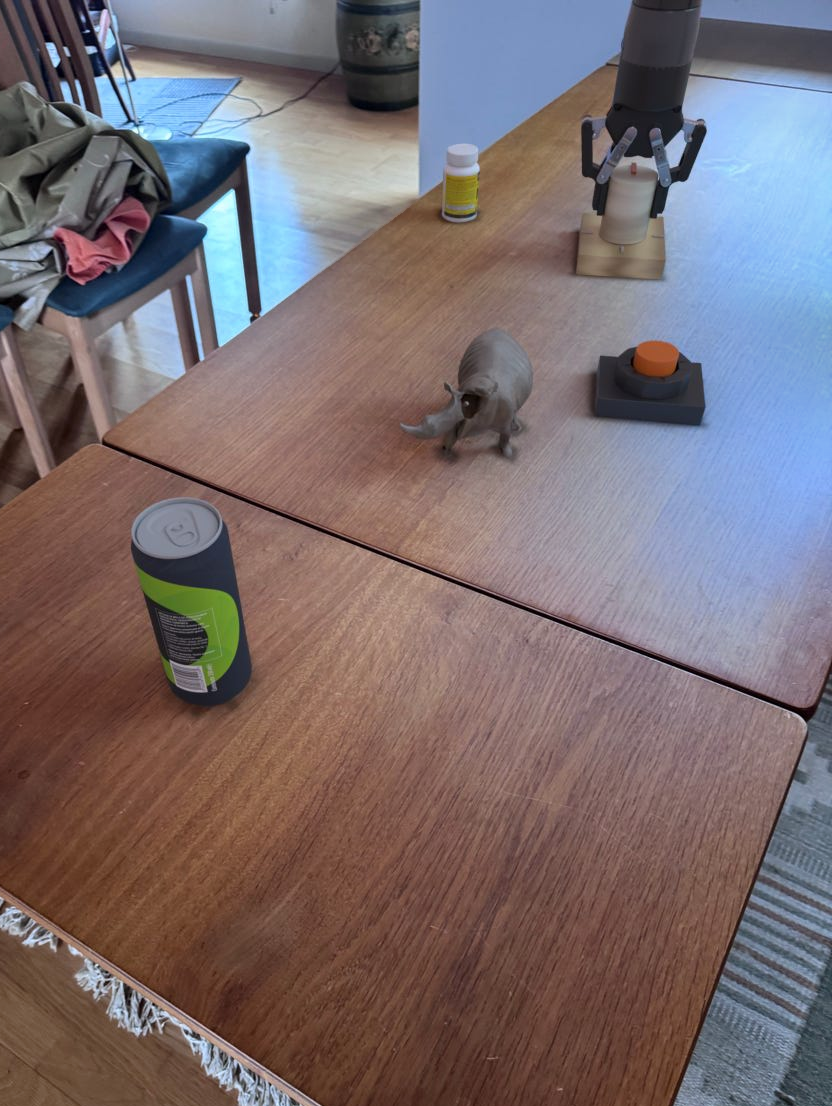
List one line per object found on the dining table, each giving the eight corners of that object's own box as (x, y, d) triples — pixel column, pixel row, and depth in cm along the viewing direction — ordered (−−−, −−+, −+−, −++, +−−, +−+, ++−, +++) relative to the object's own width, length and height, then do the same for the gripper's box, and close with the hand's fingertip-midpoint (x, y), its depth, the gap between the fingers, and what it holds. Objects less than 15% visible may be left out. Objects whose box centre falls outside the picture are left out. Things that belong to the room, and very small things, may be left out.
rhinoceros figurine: (568, 376, 89) (535, 294, 76) (519, 504, 89) (476, 444, 75) (496, 362, 93) (452, 282, 80) (448, 486, 92) (395, 425, 79)
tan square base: (659, 236, 116) (663, 215, 114) (661, 280, 108) (666, 258, 106) (579, 232, 117) (582, 211, 115) (575, 275, 109) (579, 253, 107)
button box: (696, 382, 93) (706, 346, 90) (699, 426, 87) (710, 390, 85) (596, 374, 94) (602, 338, 91) (594, 417, 89) (601, 381, 86)
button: (674, 358, 89) (678, 341, 88) (675, 379, 87) (680, 363, 85) (632, 354, 90) (636, 338, 89) (632, 376, 87) (636, 360, 86)
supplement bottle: (482, 220, 121) (487, 152, 114) (448, 225, 120) (451, 158, 114) (468, 206, 124) (472, 139, 118) (436, 211, 123) (438, 145, 117)
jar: (646, 246, 108) (659, 181, 103) (598, 243, 109) (609, 179, 104) (645, 226, 112) (658, 163, 107) (599, 223, 113) (609, 161, 107)
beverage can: (268, 685, 67) (244, 531, 56) (195, 726, 65) (154, 573, 54) (226, 636, 71) (196, 482, 60) (155, 673, 68) (110, 519, 57)
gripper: (587, 61, 95) (564, 224, 107) (730, 65, 93) (690, 231, 105) (588, 41, 100) (566, 199, 112) (724, 44, 98) (686, 205, 110)
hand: (626, 214), depth 109 cm, fingers closed on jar, 5 cm apart
